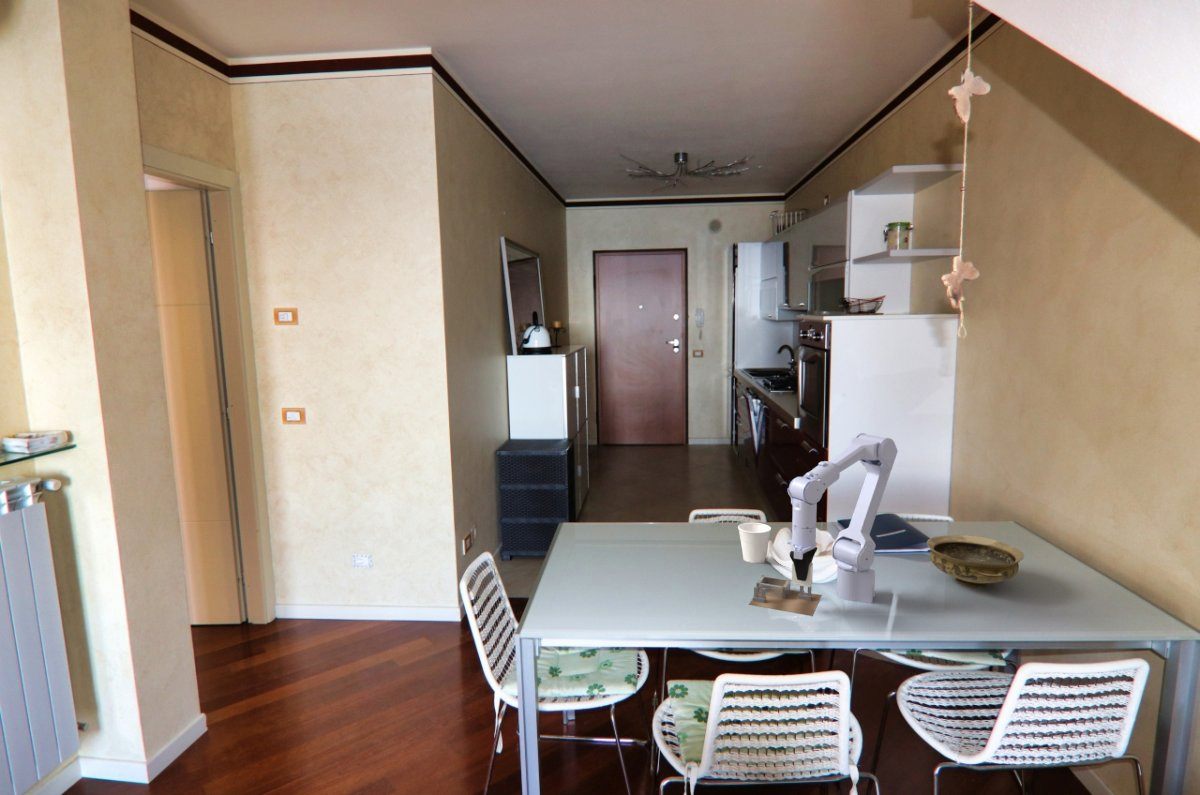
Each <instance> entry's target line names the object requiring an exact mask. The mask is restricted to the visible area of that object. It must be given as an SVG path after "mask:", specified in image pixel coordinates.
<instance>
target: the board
mask: <svg viewBox="0 0 1200 795" xmlns="http://www.w3.org/2000/svg"><path fill="white" fill-rule="evenodd" d="M804 593H807V594H808V592H805V591H804ZM799 594H800V590H795V589H793V590H792V589H790V592H789V594H788V595H787V597H786V599H782V598H776V597H770V596H765V597H766V602H765V603H760V602H754V601H753V598H752V599H751V601H750V602H749V603H748V605H749V606H752V607H753V606H754V607H759V608H763V609H769V610H770V609H771V610H775V611H776V610H777V611H781V612H788V613H793V614H798V615H803V616H808V617H813V616H814V614H815V611H816V609H817V606H818V604H819V603H820V600H821V598H822V596H823V595H822V594H818V593H812V592H811V594H812V599H811V601H809V600H803V599H799ZM758 595H759V594H758ZM759 596H762V595H759Z"/></svg>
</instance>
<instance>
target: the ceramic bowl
mask: <svg viewBox="0 0 1200 795" xmlns="http://www.w3.org/2000/svg"><path fill="white" fill-rule="evenodd" d="M926 546H927V547H928V548H929V549H930V553H929V554H930V555H929V558H930V561H931V562H932V564H933V565H934V566H935V568H937V569H938V570H939V571H941V572H943V573H944V574H946V575H948V576H950V577H952V578H954V579H955V582H956V583H958V584H961V585H963V586H965V587H971V588H985V587H988V586H989V584H996V583H1001V582H1006V581H1009V580H1011V579H1013V578H1014V577H1015V576H1016V575H1017V573H1018V571H1019V563H1020V562H1021V561H1023V560H1024V558H1025V554H1024V552H1023V551H1022V550H1020V549H1019V548H1018V547H1015V546H1013V545H1011V544H1009V543H1006V542H1003V541H999V540H995V539H992V538H988V537H983V536H974V535H960V534H959V535H957V534H955V535H953V534H945V535H937V536H933V537H930V538H928V540H927V541H926Z"/></svg>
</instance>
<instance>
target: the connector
mask: <svg viewBox="0 0 1200 795" xmlns="http://www.w3.org/2000/svg"><path fill="white" fill-rule="evenodd" d="M813 564H814V563H813V562H812V563H810V565H809V569H808V575H807V579H806V581H801V580H797V577H796V572H795V567H794V564H793V563H792V564H791V568H792V569H791V585H794V586H795V585H796V586H799V587H800V586H804V587H805V588H808V587H811V588H812V585H813V574H814V572H813V571H814V570H813V569H814V567H813V566H814V565H813Z"/></svg>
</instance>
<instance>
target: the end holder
mask: <svg viewBox="0 0 1200 795" xmlns="http://www.w3.org/2000/svg"><path fill="white" fill-rule="evenodd" d="M791 583H792V579H788V578H782V577H781V578H780V577H775V576H769V575H761V576H760V578H759V579H758V580H757V582H756V586H755V587H758V594H759V595H762V588H766V591H765V596H770V597H776V598H782V599H786V597H787V595H788V594H789V592H790V590H791Z"/></svg>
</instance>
